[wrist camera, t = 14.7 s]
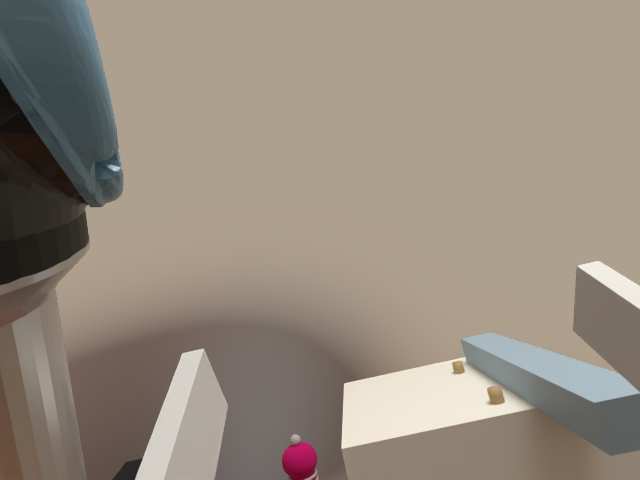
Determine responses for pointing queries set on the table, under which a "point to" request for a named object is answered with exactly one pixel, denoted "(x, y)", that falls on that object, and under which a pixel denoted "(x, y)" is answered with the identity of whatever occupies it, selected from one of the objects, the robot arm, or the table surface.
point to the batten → (563, 390)
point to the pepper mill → (300, 460)
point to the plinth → (462, 432)
